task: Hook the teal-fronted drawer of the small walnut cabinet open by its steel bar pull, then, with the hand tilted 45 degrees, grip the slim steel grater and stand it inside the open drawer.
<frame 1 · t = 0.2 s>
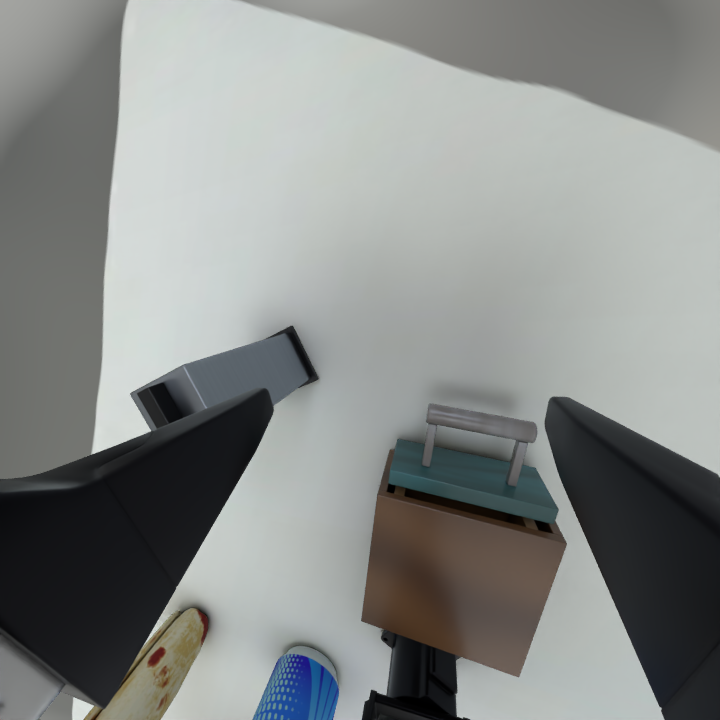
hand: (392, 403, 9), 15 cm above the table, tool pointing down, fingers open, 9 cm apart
food model: (196, 619, 41), on the table
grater: (282, 363, 27), on the table
drawer: (457, 506, 23), point 3 cm above the table, slide at 0.5 cm
cabinet: (446, 522, 27), on the table
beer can: (311, 664, 37), on the table
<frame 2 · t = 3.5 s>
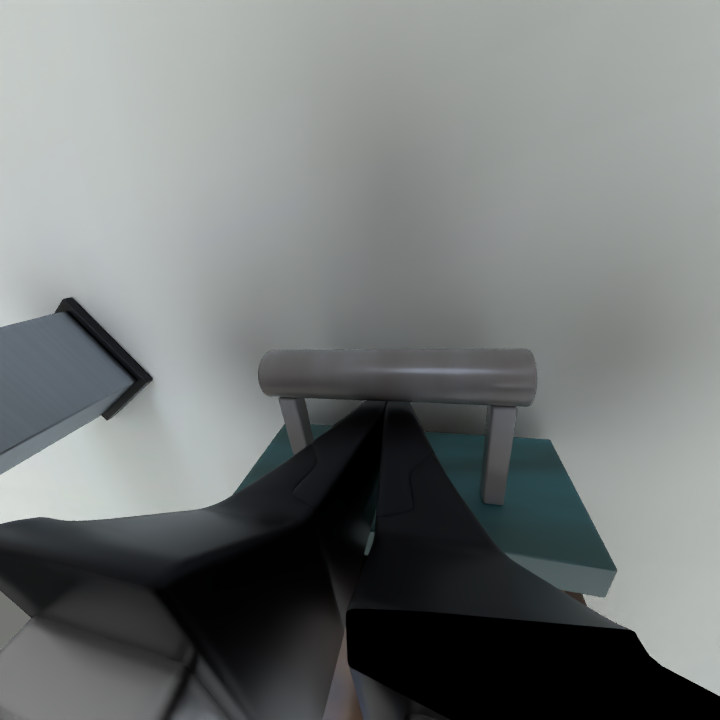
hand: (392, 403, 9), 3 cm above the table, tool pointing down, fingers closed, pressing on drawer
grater: (94, 363, 16), on the table
drawer: (400, 534, 12), point 3 cm above the table, slide at 2.7 cm, touching gripper
cabinet: (411, 558, 17), on the table
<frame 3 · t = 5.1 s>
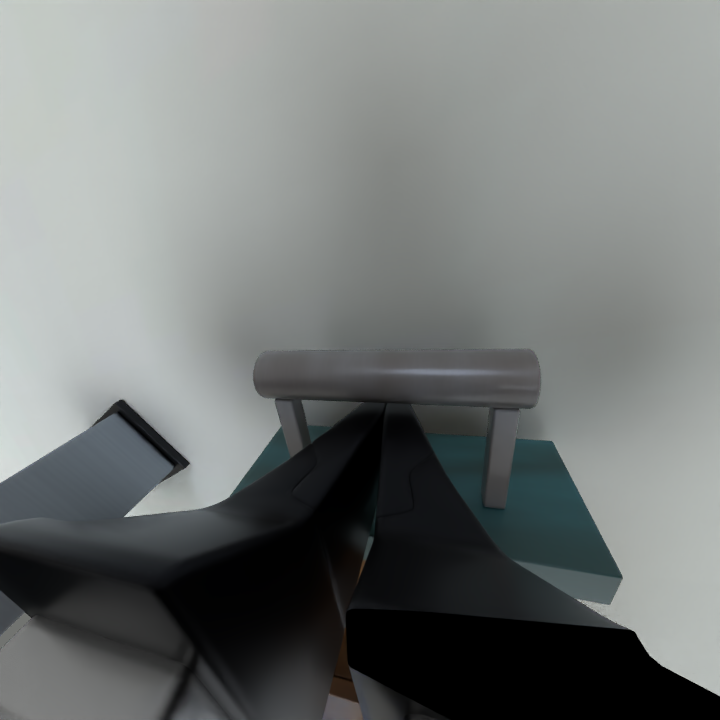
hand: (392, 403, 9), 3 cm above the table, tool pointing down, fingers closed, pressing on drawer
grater: (137, 447, 18), on the table
drawer: (400, 537, 11), point 3 cm above the table, slide at 8.7 cm, touching gripper
cabinet: (414, 613, 19), on the table
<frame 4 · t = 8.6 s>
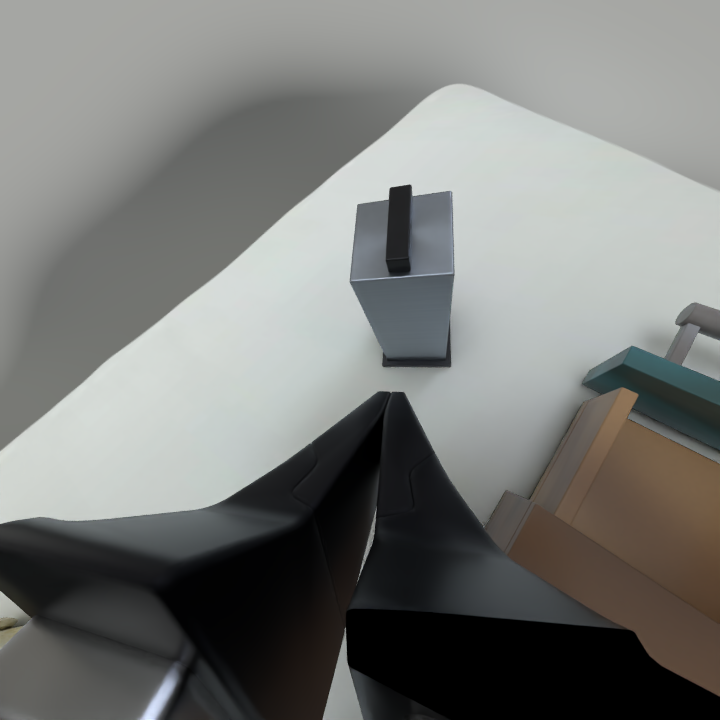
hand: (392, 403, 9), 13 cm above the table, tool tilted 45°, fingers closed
food model: (23, 655, 24), on the table
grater: (416, 336, 24), on the table
drawer: (696, 464, 15), point 3 cm above the table, slide at 8.7 cm
cabinet: (556, 660, 16), on the table
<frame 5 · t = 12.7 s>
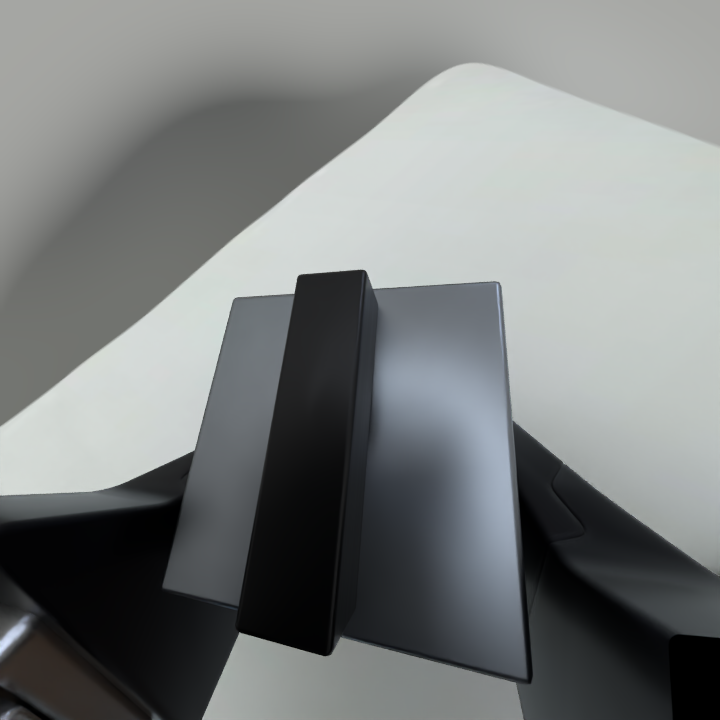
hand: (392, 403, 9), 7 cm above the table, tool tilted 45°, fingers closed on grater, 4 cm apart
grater: (408, 453, 15), on the table, touching gripper
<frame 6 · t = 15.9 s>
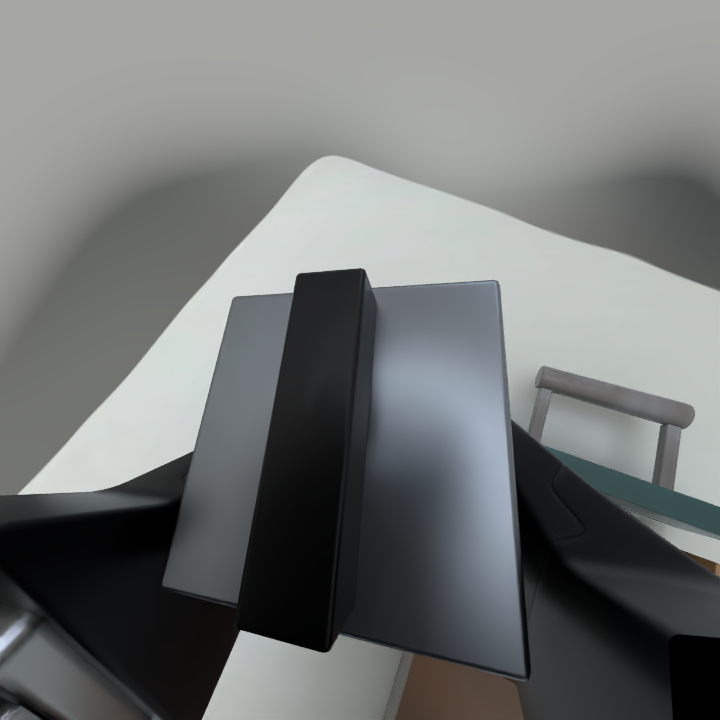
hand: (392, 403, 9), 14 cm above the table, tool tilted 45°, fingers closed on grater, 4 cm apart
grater: (407, 453, 15), point 7 cm above the table, touching gripper
drawer: (573, 530, 15), point 3 cm above the table, slide at 8.7 cm
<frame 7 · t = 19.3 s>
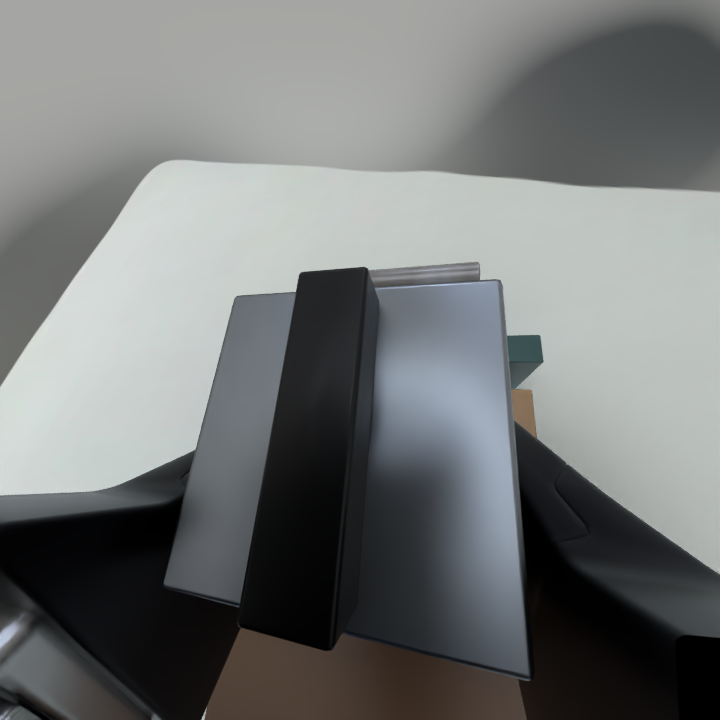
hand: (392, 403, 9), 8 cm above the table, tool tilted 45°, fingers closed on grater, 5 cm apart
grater: (408, 453, 15), point 2 cm above the table, touching drawer, gripper
drawer: (407, 419, 14), point 3 cm above the table, slide at 8.8 cm, touching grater
when the fingers open (8 cm above the table, at t = 19.3 s): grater stays where it is, resting on drawer.
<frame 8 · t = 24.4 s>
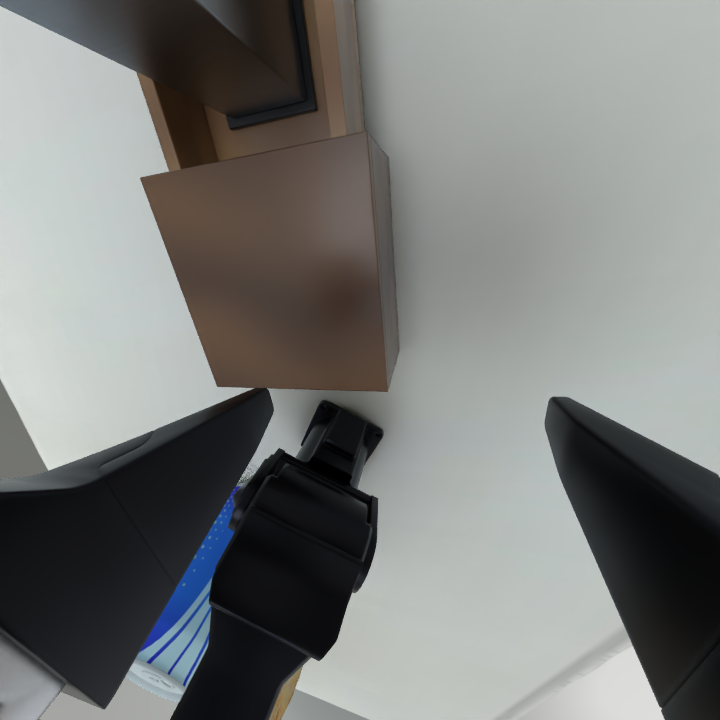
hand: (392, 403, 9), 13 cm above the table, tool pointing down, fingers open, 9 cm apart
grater: (261, 57, 15), point 2 cm above the table, touching drawer
cabinet: (313, 273, 21), on the table
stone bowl: (266, 608, 50), on the table
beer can: (261, 499, 36), on the table
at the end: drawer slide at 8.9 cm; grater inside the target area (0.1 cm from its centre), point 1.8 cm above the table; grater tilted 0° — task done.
